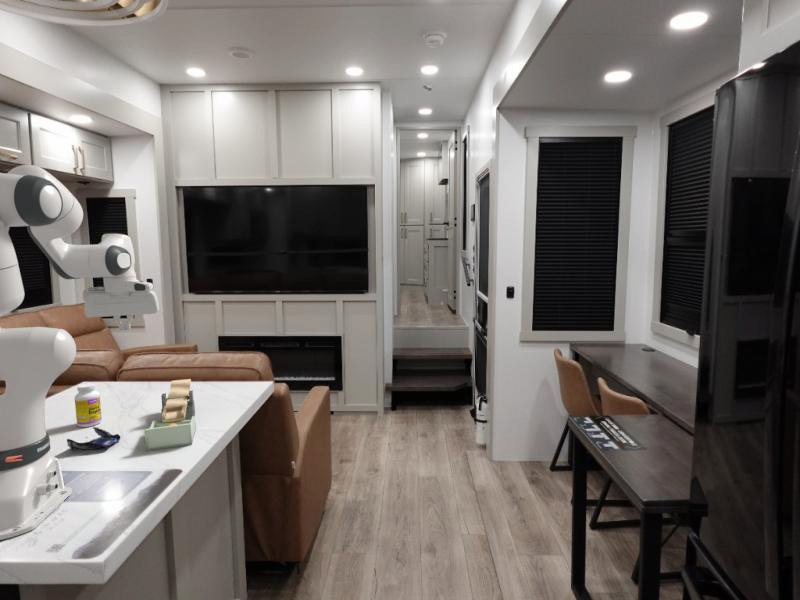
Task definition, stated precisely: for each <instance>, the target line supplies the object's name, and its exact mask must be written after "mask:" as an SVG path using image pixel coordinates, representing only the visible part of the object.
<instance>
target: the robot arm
mask: <svg viewBox="0 0 800 600" xmlns="http://www.w3.org/2000/svg"><path fill="white" fill-rule="evenodd" d="M83 219H84V211H83V206H82V205H81V203H80V202H79V201H78V199H77V198H76V197H75V196H74V195H73V193H72V192H70V190H69V188H67V187H66V186H65V185H64V184H63V183H62V182H61V181H60V180H59V179H57V178H56V177H55V176H54V175H52V174H51V173H50V172H49V171H47V170H46V169H44V168H42V167H40V166H37V165H33V164H22V165H17V166H16V167H13V168H12V169H10V170H9V171H8V172H7V173H4V172H0V317H2V316H4V315H6V314H8V313H10V312H12V311H14V310H16V309H17V308H18V307H20V305H21V304H22V303H23V301H24V299H25V288H24V284H23V279H22V275H21V272H20V271H21V270H20V267H19V261H18V257H17V254H16V250H15V247H14V243H13V242H12V239H11V236H10V234H9V231H10V227H12V228H13V227H26V229H27V232H28V234H29V236H30V238H31V239H32V240H33V242H34V243H35V244H36V245H37V247H38V248H39V250H41V252H42V253H43V254H44V255H45V257H46V258H47V260H48V261H49V263H50V264H51V267H52V269H53V271H54V272H55V273H56V274H57V275H58V276H59V277H61V278H62V279H64V280H75V279H76V280H77V279H86V278H87V279H89V278H91V279H93V278H95V279H96V278H102V279H103V286H96V287H95V286H94V287H93V286H90V287H87V288H85V289H84V290H83V291H82V299H83V300H84V307H83V308H84V309H83V310H84V316H86V317H87V318H101V317H112V318H113V321H114V322H115V323H116V324H117V326H118V331H123V330H129V331H130V330H131V323H132V321H133V319H134V316H137V315H138V316H141V315H155V314H157V313H158V312H159V311H160V303H159V298H158V295H157V293H156V292H155V291H154V284H153V283H152V282H148V281H144V280H141V279H140V280H139V279H138V278H137V273H136V271H135V264H136V259H135V251H134V246H133V241H132V239H131V236H129V235H127V234H124V233H118V232H110V233H104V234H103V235H102V236H101V242H99V243H98V244H72V243H66V242H65V241H64V240H63V239H62V238H65V237H68V236H70V235H72V234H73V233H75V232H76V231H77V230H78V229H79V227H81V224H82V222H83ZM122 316H126V318H127V320H128V321H127V322H126V323H122V321H121V320H120V319H121V317H122ZM76 355H77V345H76V341H75V340H74V338H73V336H72V335H71V333H69V332H68V331H67V330H66V329H63V328H56V327H47V326H28V327H27V326H25V327H11V328H10V327H9V328H4V327H3V328H2V327H1V326H0V381H4V382H5V391H4V393H3V394H0V541H1V540H7V539H10V538H13V537H17V536H21V535H22V534H25V533H28V532H30V531H31V532H32V530H34V529H35V528H36V527H38V526H39V525H40V524H41V523H42V522H43V521H44V520H45V519H46V518H48V516H50V515H51V514H52V513H53V512H54V511H55V510H56V509H57V508H58V507H60V505H61V504H62V503H64V502H65V501H66V500H67V499H68V498H69V497H70V496H71V495H72V494H73V490H72V487H67V486H65V483H64V479H63V472H62V467H61V464H60V460H59V459H58V457H55V456H54V455H53V454H52V453H51V439H50V435H49V433H48V432H47V427H46V414H45V412H46V411H45V407H46V404H45V403H46V398H47V394H48V393H49V390H50V387H51V386H52V384H53V383H54V382H55V380H57V378H58V377H59V376H61V375H62V374H63V373H65V372H66V371H67V370H68V369H69V368H70V367H71V366H72V364H73V362H74V361H75V359H76ZM68 496H69V497H68ZM67 497H68V498H67ZM66 498H67V499H66ZM65 499H66V500H65ZM64 500H65V501H64Z"/></svg>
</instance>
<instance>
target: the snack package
mask: <svg viewBox="0 0 800 600" xmlns="http://www.w3.org/2000/svg"><path fill="white" fill-rule="evenodd" d="M92 427H93V428H90V430H91V429H92V430H93V431H94V433H96V435H98V436H99V437H97V438H93V439H91V440H89V441H84V442H77V441H75V440H73V439H70V438H67V439H66V443H67V447H69V448H70V449H71V450H73V449H85V450H95V449H98V448H99V449H100V448H107V449H109V448H110V447H111V446H112V445H113V446H115V445H116V444H118V443H119V441H120V440H121V435H119V434H118V433H116V434H111V433H110V432H109V431H106V430H104V429H102V428H99V427H95V426H92ZM85 438H86V439H87V438H88V436H85Z"/></svg>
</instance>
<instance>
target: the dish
mask: <svg viewBox="0 0 800 600" xmlns="http://www.w3.org/2000/svg"><path fill="white" fill-rule="evenodd" d="M172 423H174V424H177V425H173V426H168V425H169V424H172ZM196 430H197V423H196V415H195V416H192V419H191V420H184V421H176V422H168V423H162V422H161V423H157V420H152V422H151V424H150V427H149V428H145V429H144V433H143V434H144V440H145V441H144V443H145V451H146V452H149V451H155V450H157V451H158V450H163V449H169V448H176V447H177V448H178V447H182V446H183V447H184V446H191V445H193V441H194V438H195V434H196Z"/></svg>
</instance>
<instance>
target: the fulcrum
mask: <svg viewBox="0 0 800 600" xmlns="http://www.w3.org/2000/svg"><path fill="white" fill-rule="evenodd" d="M166 398H167V393H166V392H165V393H162V394H161V414H162V413H163V409H164V406H166ZM192 416H195V417H196V407H195V400H194V391H193V390H191V389H190V390H189V400H188V402H187V408H186V414H185V420H191V419H192ZM179 421H184V420H179ZM171 422H176V421H171ZM161 423H168V422H163V421H162V420H161Z"/></svg>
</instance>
